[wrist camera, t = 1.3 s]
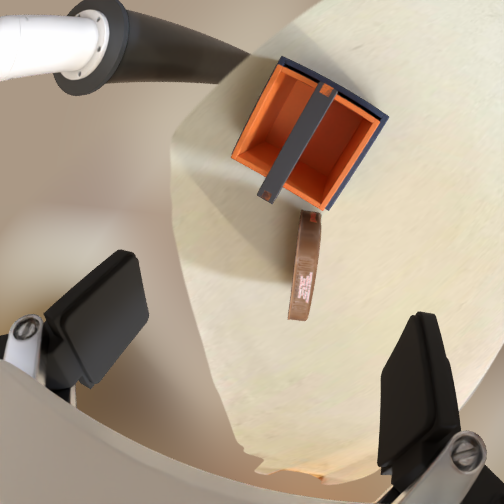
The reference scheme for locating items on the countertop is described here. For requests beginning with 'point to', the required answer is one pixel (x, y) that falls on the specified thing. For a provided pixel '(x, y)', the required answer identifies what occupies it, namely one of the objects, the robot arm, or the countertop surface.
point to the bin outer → (349, 97)
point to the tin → (305, 265)
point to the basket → (303, 138)
